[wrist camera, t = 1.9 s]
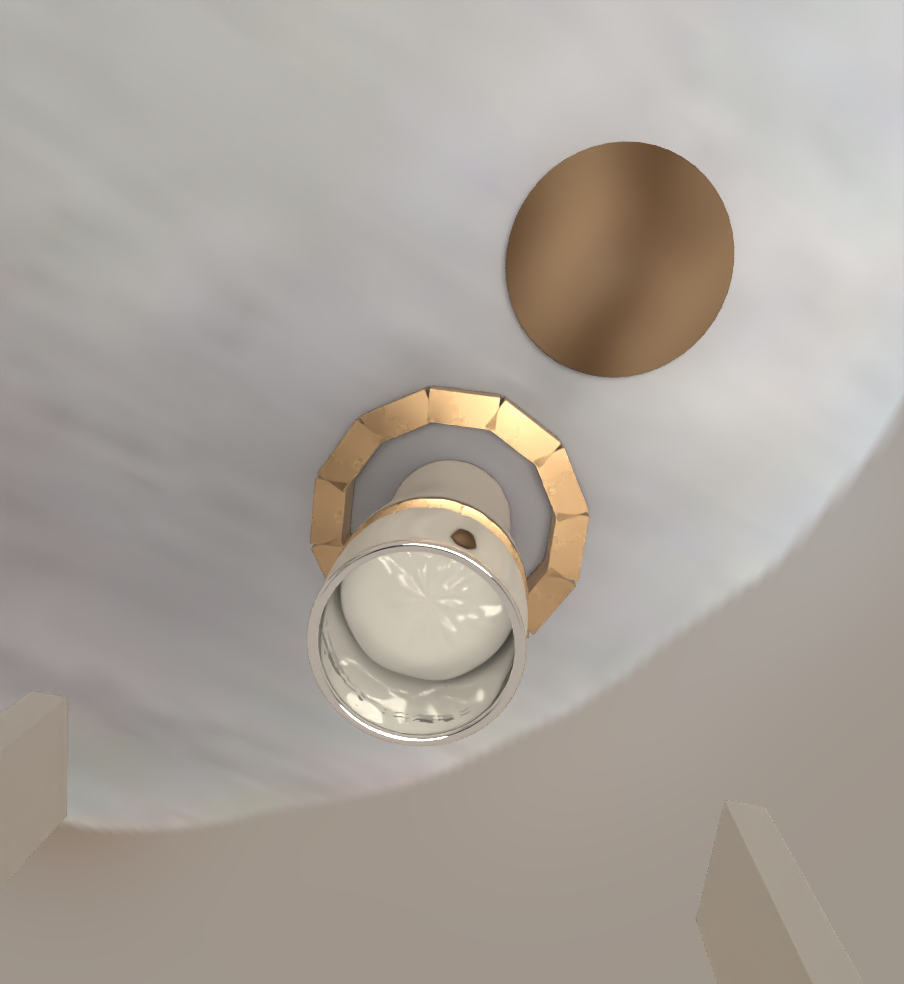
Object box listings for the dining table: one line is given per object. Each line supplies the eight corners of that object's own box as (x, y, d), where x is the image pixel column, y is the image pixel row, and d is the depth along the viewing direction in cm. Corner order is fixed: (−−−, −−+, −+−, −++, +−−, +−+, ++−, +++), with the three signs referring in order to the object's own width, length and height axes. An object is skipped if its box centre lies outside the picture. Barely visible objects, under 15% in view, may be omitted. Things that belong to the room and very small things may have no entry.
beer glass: (360, 549, 36) (264, 694, 21) (416, 427, 34) (354, 493, 20) (482, 606, 36) (470, 789, 22) (543, 487, 35) (576, 598, 20)
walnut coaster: (491, 361, 33) (491, 362, 32) (522, 135, 31) (523, 128, 30) (702, 388, 33) (708, 390, 32) (748, 162, 31) (757, 156, 30)
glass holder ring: (312, 620, 37) (302, 636, 35) (334, 372, 34) (324, 374, 32) (558, 656, 36) (561, 674, 35) (601, 408, 34) (607, 412, 32)
